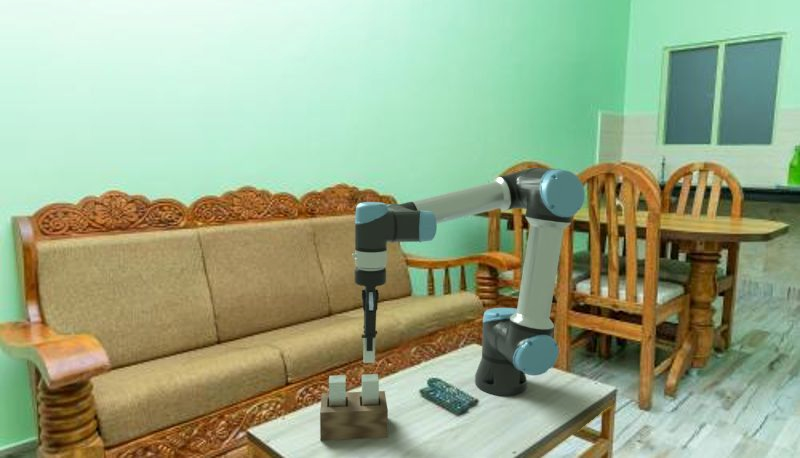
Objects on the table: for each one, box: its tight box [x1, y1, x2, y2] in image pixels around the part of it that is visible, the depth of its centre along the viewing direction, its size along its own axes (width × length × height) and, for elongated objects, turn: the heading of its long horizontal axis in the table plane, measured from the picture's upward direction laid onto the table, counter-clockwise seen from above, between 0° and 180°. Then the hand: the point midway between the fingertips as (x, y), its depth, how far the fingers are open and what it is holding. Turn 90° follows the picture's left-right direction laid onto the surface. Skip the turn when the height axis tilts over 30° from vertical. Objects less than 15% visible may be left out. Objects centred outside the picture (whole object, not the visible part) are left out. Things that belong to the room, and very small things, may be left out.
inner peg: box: [361, 373, 380, 406], centre depth 128 cm, size 4×4×6 cm
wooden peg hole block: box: [319, 390, 389, 441], centre depth 129 cm, size 16×10×7 cm, turn 96°
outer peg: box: [328, 374, 347, 407], centre depth 127 cm, size 4×4×6 cm
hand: (369, 361), depth 127 cm, fingers closed
